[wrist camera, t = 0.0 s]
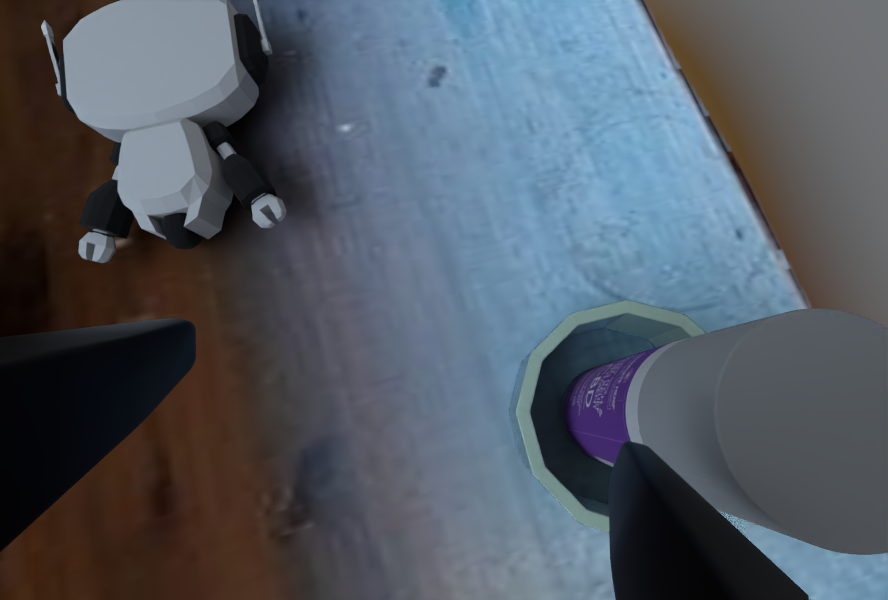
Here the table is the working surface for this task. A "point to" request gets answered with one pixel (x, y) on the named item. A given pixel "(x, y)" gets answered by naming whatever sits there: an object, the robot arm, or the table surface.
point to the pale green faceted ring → (614, 316)
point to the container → (759, 422)
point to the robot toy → (166, 116)
